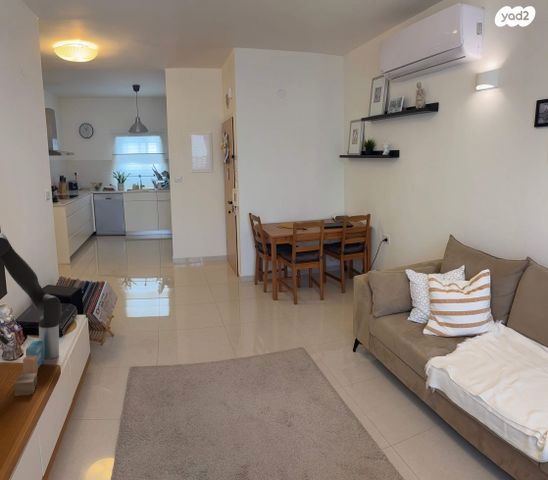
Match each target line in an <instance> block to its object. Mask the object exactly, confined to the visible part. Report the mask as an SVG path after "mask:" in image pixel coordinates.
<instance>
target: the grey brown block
mask: <svg viewBox="0 0 548 480" xmlns="http://www.w3.org/2000/svg"><path fill="white" fill-rule="evenodd" d="M13 385H14V397H17V396H18V397H19V396H20V395H21V396H30V394H33V395H34V393H35V391H34V390H36V389H35V387H36V385H37V386H38V376H37V373H32V374H23V373H20V374H19V375H18V376H17V378H16V380H15V381H14V383H13ZM36 388H37V387H36ZM33 392H34V393H33Z"/></svg>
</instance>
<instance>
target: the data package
mask: <svg viewBox="0 0 548 480" xmlns="http://www.w3.org/2000/svg"><path fill="white" fill-rule="evenodd" d="M26 356H37V361H38V367H39V365H43V362H44V359H43V341H39V340H32V341H31V342H30V344H28V346H27V347H26V348H25V357H26ZM39 368H40V367H39Z"/></svg>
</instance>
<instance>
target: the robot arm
mask: <svg viewBox="0 0 548 480" xmlns="http://www.w3.org/2000/svg"><path fill="white" fill-rule="evenodd" d="M0 261H1V263H2V265H4V266H3V267H4V268H5V270H7V273H8V274H9V276H10V277H11V278H12V280H13V281H14V282H15V283H16V284H17V285H18V286H19V288H20V289H22V290H23V291H24V293H25V294H26V295H27V296H28V298H30V300H31V301H32V303H33V305H34V306H35V307H36V309H37V310H38V311H40V312H42V313H43V315H42V317H43V318H41V319H40V320H39V322H38V337H39V339H38V341H43V361H44V360H53V359H56V358H58V357H59V355H60V342H59V341H60V332H59V331H60V330H59V329H60V324H59V322H60V320H61V314H62V313H61V312H62V311H61V309H62V306H61V305H62V304H61V300H60V299H59V297H57V296H55V295H52V294H49V293H48V292H47V291H45V290H44V289H43V288H42V287H41V285H40V282H39V279H38V275H37V273H36V272H35V271H34V270H33V268H32V267H31V266H30V265H29V264H28V263H27V261H25V260H24V258H22V257H21V255H20V254H18V253H17V252H16V251H15V249H14V248H13V246H12V245H11V243H10V241H9V239H8V237H7V236H6V234H4V233H2V232H0ZM0 342H1V343H2V344H4V345H7V344H9V343H10V340H9V339H7V338H6V337H5V332H4V331H3V330H2V329H1V328H0ZM0 350H1V347H0Z"/></svg>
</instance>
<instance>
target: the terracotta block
mask: <svg viewBox="0 0 548 480" xmlns="http://www.w3.org/2000/svg"><path fill="white" fill-rule="evenodd" d="M22 369H23V370H22V374H32V373H38V372H39V371H38V370H39V369H38V361H37V356H26V355H25V357H24V358H23V359H22Z"/></svg>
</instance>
